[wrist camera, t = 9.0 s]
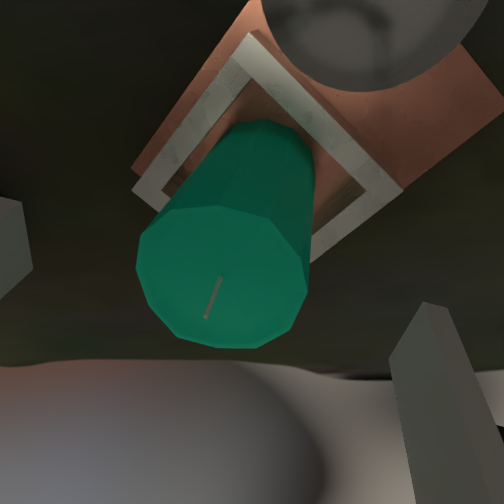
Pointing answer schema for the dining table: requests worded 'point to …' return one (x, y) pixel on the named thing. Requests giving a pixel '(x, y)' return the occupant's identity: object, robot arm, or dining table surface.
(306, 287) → the candle
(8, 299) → the dining table surface
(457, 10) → the brown stand with post
